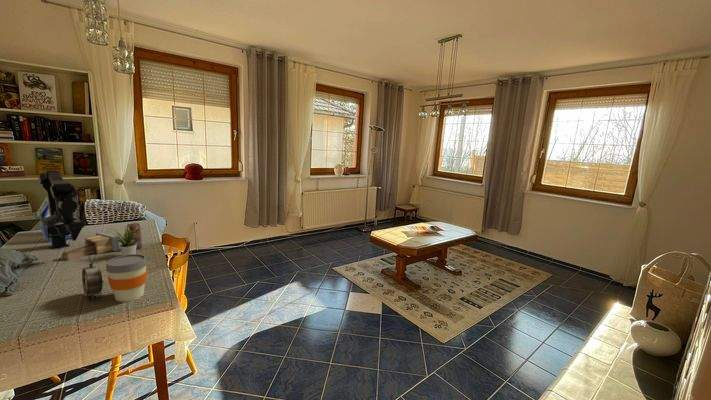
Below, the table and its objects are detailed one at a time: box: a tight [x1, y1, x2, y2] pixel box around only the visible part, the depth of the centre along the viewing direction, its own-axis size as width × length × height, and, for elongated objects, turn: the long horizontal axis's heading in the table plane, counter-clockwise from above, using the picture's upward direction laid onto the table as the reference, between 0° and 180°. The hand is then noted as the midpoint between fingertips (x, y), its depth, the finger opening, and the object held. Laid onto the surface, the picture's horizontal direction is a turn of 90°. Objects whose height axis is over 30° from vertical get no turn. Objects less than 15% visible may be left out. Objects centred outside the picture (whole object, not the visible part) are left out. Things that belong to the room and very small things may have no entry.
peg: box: [61, 243, 96, 261], centre depth 151 cm, size 4×15×4 cm, turn 167°
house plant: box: [112, 226, 143, 256], centre depth 152 cm, size 14×14×16 cm
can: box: [125, 222, 143, 251], centre depth 163 cm, size 6×6×14 cm
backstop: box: [95, 231, 120, 252], centre depth 161 cm, size 16×2×8 cm, turn 69°
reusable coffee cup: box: [105, 253, 148, 302], centre depth 113 cm, size 13×13×15 cm
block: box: [84, 234, 112, 255], centre depth 157 cm, size 11×6×7 cm, turn 69°
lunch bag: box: [34, 196, 77, 243], centre depth 174 cm, size 22×17×26 cm
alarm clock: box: [81, 256, 104, 302], centre depth 112 cm, size 11×5×16 cm, turn 49°
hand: (68, 239), depth 145 cm, fingers open, 9 cm apart
